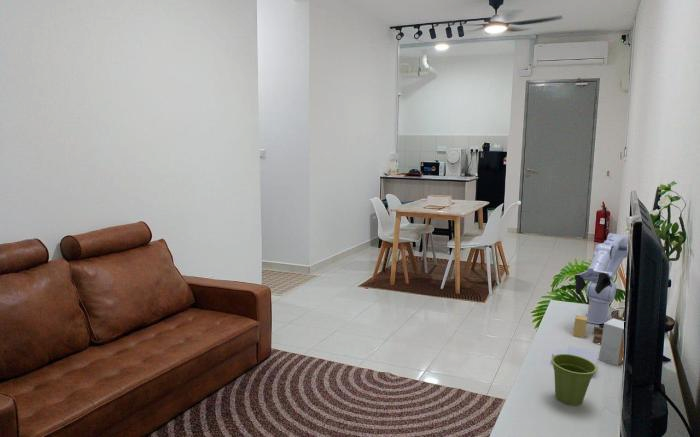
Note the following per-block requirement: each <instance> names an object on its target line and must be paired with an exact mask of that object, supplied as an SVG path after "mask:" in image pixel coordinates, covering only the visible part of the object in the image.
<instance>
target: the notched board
mask: <svg viewBox="0 0 700 437" xmlns="http://www.w3.org/2000/svg"><path fill="white" fill-rule="evenodd" d="M593 333H594V335H593V342H594V343H593V342H592V343H593V344H597V343H600V344H599V345H601V341H602V334H603V327H600V326H594V328H593Z"/></svg>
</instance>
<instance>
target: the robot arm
mask: <svg viewBox="0 0 700 437" xmlns="http://www.w3.org/2000/svg"><path fill="white" fill-rule="evenodd" d="M628 236H629V235H624V234H617V233H612V232H610V233H608V234H607V237H606V240H604V241H603V243H599V244H596V246H595V248H594V252H593V258H592V260H591V262H590V264H589V267H587V270H585V271H583V272H580V273H577V274H576V273H575V274H574V277H573V279H574V281H575V293H576V294H577V295H580V294H581V292H582V291H583V289H584V288H585V287H586V289H585V294H586V296H587V298H588V300H589V301H588V309H587V313H586V314H585V317H587V323H589V324H594V325H599V324H600V323H604V322H607V321H608V313H609V306H610V303H612V302H613V301H614V300H615V296H616V292H617V285H616V283H615V282H614V281H613V280H614V278H616V277H615V276H616V275H617V272H618V270H619V268H620V266H621V265H622V262H623V261H624V259H626V258H628V257H627V244H628ZM586 281H587V282H588V284H587V283H586Z"/></svg>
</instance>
